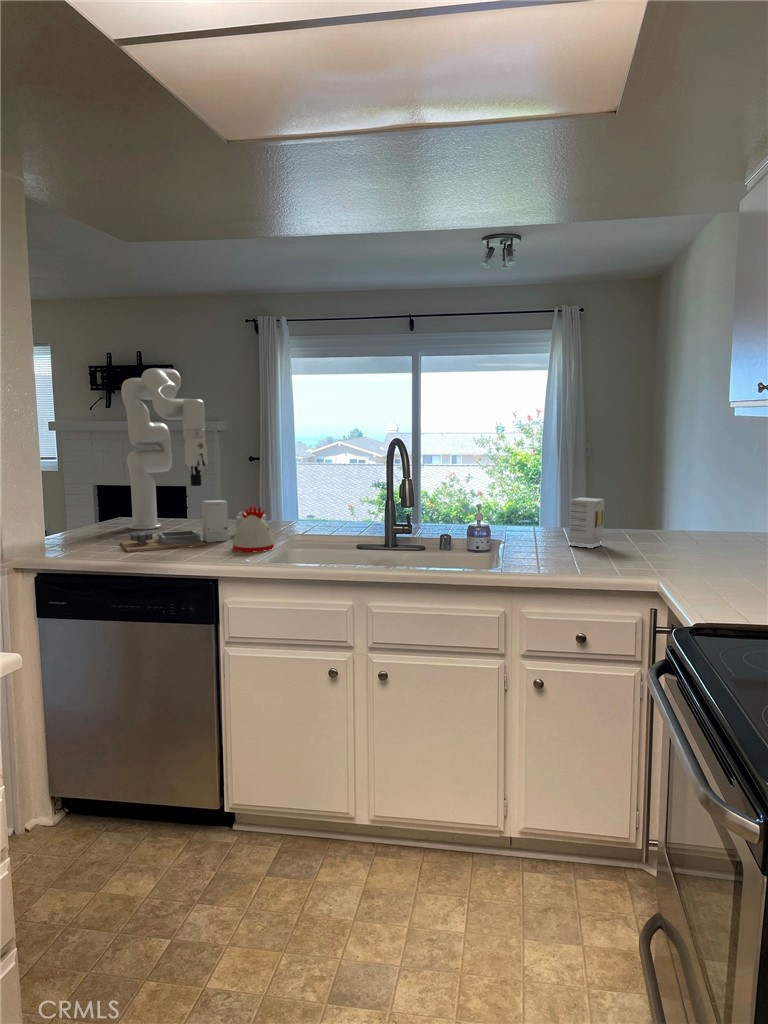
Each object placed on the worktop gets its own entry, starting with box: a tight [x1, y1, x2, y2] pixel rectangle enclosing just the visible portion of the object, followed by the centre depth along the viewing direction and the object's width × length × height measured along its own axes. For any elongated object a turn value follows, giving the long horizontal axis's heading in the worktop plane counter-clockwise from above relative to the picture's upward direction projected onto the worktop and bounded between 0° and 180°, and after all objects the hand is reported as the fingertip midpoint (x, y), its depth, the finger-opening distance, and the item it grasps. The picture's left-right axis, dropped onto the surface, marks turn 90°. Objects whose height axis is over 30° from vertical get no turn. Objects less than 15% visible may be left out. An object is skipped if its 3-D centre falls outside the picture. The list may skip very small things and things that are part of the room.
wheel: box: [129, 531, 153, 541], centre depth 252 cm, size 7×7×2 cm
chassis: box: [120, 530, 205, 553], centre depth 255 cm, size 18×26×4 cm
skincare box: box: [201, 499, 229, 543], centre depth 263 cm, size 8×6×15 cm
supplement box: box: [568, 497, 605, 544], centre depth 254 cm, size 10×9×17 cm
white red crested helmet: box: [232, 505, 275, 553], centre depth 248 cm, size 14×14×15 cm
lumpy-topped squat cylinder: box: [235, 510, 267, 531], centre depth 277 cm, size 10×13×9 cm
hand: (196, 485), depth 257 cm, fingers closed
